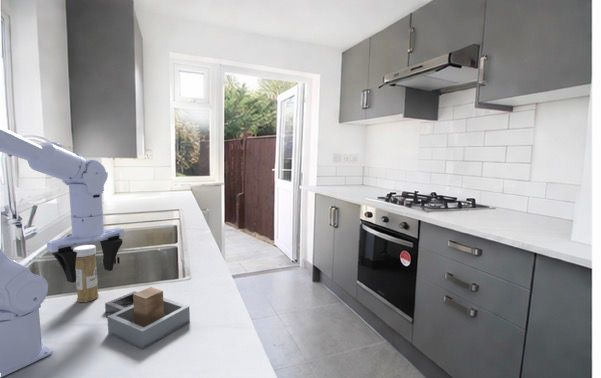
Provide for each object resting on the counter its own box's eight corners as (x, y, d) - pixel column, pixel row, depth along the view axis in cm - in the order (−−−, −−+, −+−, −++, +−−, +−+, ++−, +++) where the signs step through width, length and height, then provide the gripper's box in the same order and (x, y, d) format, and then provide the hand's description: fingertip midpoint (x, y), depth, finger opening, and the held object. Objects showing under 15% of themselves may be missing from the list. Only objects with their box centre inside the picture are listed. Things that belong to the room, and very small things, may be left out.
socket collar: (124, 319, 67) (124, 310, 67) (105, 311, 71) (105, 303, 70) (153, 305, 74) (153, 297, 73) (134, 298, 77) (134, 291, 77)
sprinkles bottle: (98, 300, 76) (95, 247, 75) (76, 304, 74) (72, 250, 72) (98, 293, 80) (95, 243, 79) (77, 297, 77) (73, 245, 76)
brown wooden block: (146, 331, 61) (145, 298, 61) (134, 326, 63) (133, 294, 63) (164, 322, 65) (162, 290, 64) (152, 317, 67) (150, 287, 66)
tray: (143, 349, 57) (142, 331, 56) (108, 333, 62) (107, 316, 61) (189, 322, 66) (189, 306, 66) (156, 309, 71) (155, 295, 71)
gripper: (57, 223, 58) (62, 291, 59) (130, 211, 71) (133, 268, 72) (39, 219, 61) (44, 284, 63) (112, 209, 74) (115, 263, 76)
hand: (91, 275), depth 68 cm, fingers open, 7 cm apart
